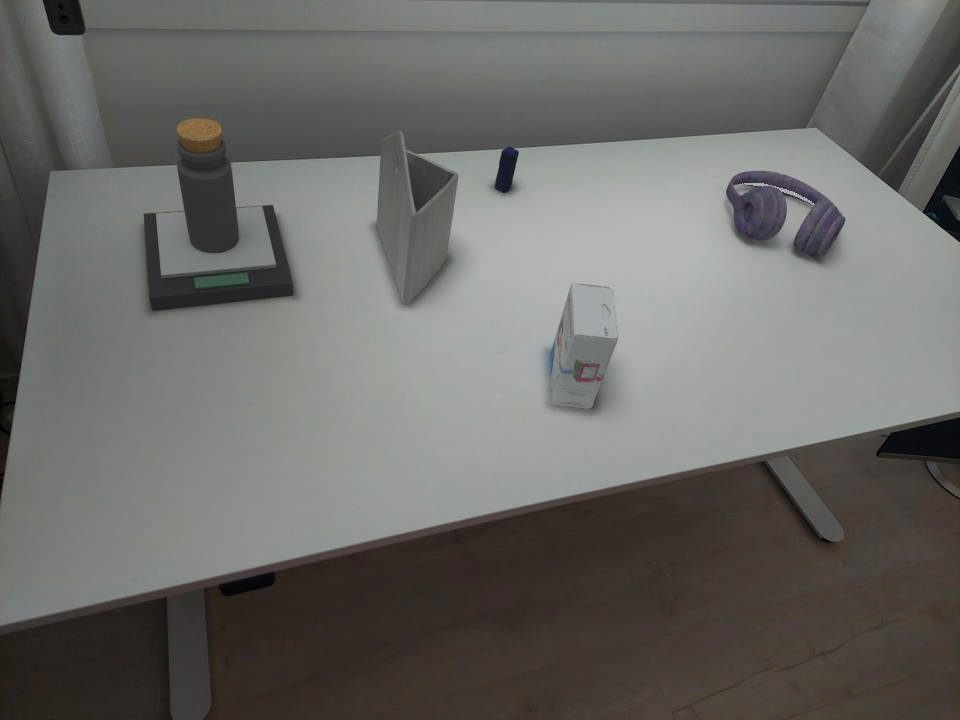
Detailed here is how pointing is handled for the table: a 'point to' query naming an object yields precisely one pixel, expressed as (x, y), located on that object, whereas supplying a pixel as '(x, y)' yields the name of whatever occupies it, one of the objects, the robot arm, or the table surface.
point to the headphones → (783, 211)
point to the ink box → (583, 345)
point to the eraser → (506, 169)
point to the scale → (215, 262)
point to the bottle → (206, 186)
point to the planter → (413, 214)
